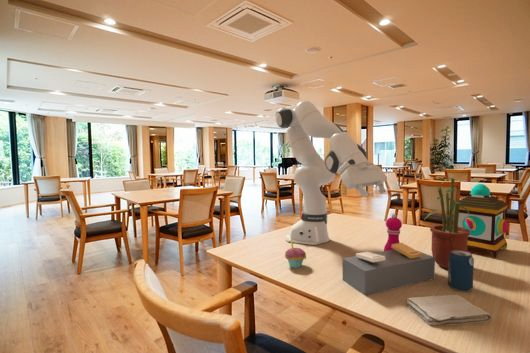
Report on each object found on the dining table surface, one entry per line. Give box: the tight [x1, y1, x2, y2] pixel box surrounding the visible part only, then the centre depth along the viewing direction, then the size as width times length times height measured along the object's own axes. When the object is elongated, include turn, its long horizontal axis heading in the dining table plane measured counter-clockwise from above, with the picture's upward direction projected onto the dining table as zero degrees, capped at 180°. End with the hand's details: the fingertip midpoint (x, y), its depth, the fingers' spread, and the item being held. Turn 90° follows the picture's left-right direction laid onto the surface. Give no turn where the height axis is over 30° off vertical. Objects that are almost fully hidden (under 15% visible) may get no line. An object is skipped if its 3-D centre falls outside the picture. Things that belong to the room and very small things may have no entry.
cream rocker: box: [355, 251, 385, 262], centre depth 100 cm, size 9×5×1 cm, turn 20°
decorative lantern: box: [452, 183, 509, 259], centre depth 131 cm, size 20×20×30 cm
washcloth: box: [406, 294, 492, 327], centre depth 83 cm, size 12×18×3 cm, turn 97°
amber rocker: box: [391, 242, 423, 259], centre depth 106 cm, size 9×5×1 cm, turn 20°
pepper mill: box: [383, 213, 403, 251], centre depth 119 cm, size 7×7×20 cm
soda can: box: [447, 250, 475, 292], centre depth 97 cm, size 7×7×12 cm
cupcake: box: [284, 239, 307, 269], centre depth 118 cm, size 9×8×12 cm
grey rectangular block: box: [342, 249, 436, 296], centre depth 104 cm, size 12×30×9 cm, turn 110°
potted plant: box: [423, 177, 470, 270], centre depth 115 cm, size 17×16×35 cm
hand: (375, 194), depth 109 cm, fingers open, 8 cm apart
